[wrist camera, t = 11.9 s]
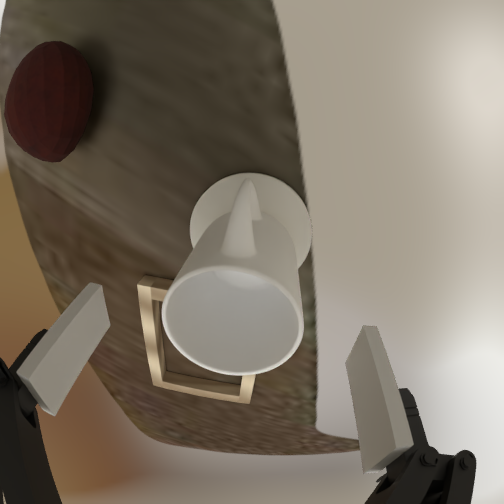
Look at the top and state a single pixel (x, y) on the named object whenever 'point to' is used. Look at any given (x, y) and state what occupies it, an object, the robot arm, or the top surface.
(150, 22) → the top surface
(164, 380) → the wooden picture frame
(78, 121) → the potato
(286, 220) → the plate
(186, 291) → the mug
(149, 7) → the top surface
